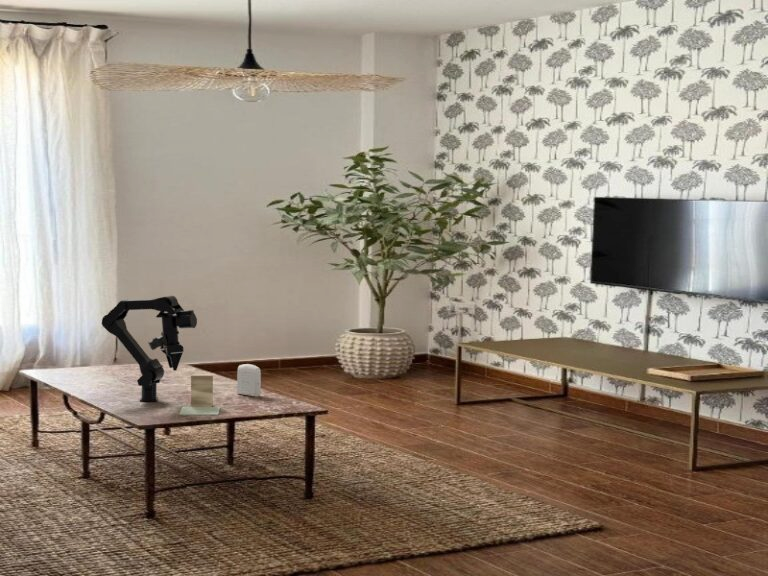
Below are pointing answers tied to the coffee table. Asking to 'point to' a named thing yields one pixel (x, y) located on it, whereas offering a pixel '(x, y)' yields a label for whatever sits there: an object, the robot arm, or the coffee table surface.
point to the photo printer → (249, 380)
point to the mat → (199, 411)
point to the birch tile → (201, 390)
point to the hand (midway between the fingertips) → (172, 369)
